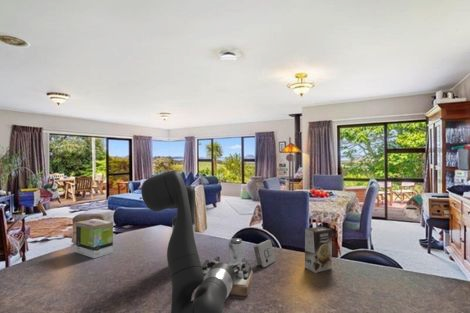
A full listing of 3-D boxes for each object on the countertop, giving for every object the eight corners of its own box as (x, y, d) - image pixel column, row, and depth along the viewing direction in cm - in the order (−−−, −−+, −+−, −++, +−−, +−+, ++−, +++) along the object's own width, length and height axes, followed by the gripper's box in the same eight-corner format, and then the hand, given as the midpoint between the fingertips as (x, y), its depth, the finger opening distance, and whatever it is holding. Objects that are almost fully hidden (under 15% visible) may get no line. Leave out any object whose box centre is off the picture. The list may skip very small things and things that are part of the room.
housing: (227, 278, 95) (227, 241, 95) (230, 272, 100) (230, 237, 100) (242, 280, 94) (242, 242, 94) (244, 273, 99) (244, 238, 99)
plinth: (217, 292, 91) (217, 283, 91) (226, 276, 104) (226, 267, 104) (247, 296, 89) (247, 285, 89) (252, 278, 102) (252, 269, 102)
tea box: (113, 252, 130) (113, 221, 130) (93, 259, 121) (93, 226, 121) (95, 246, 138) (95, 217, 138) (75, 252, 129) (75, 221, 129)
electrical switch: (264, 268, 112) (262, 245, 112) (253, 266, 115) (252, 243, 115) (275, 261, 119) (274, 239, 120) (265, 259, 122) (264, 238, 123)
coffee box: (315, 273, 107) (315, 232, 107) (304, 267, 112) (304, 228, 112) (332, 269, 111) (332, 229, 111) (320, 263, 117) (320, 225, 116)
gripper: (244, 270, 71) (253, 250, 87) (192, 266, 74) (209, 247, 90) (244, 299, 71) (253, 273, 87) (192, 294, 74) (209, 270, 89)
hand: (231, 260), depth 88 cm, fingers open, 8 cm apart
